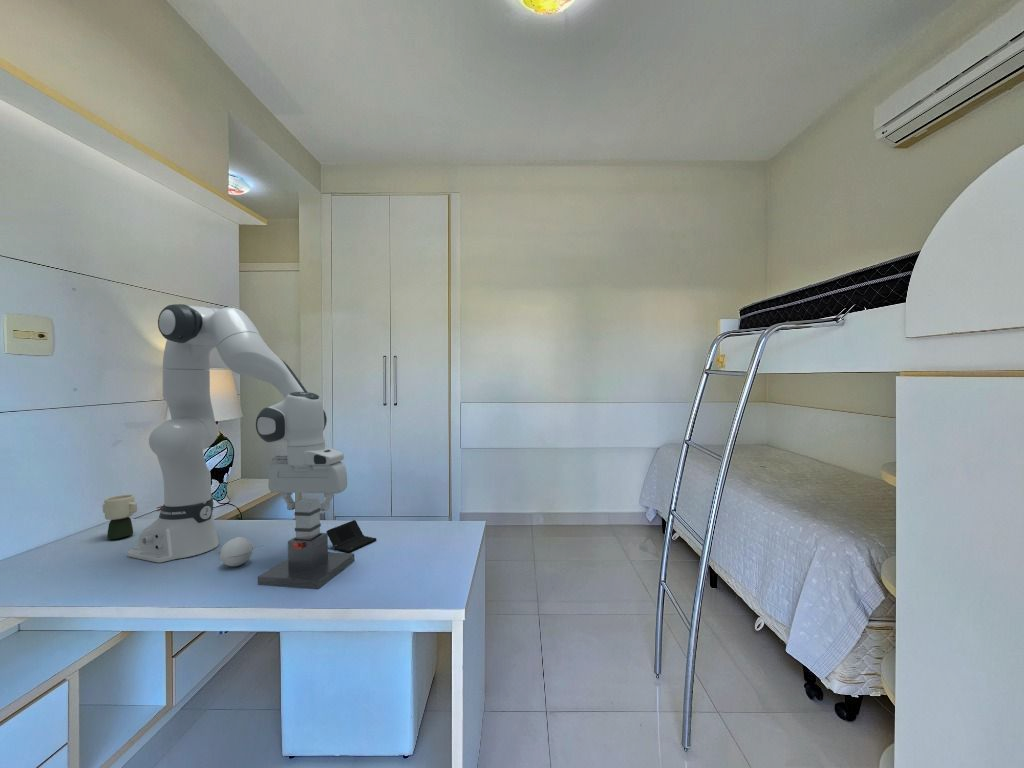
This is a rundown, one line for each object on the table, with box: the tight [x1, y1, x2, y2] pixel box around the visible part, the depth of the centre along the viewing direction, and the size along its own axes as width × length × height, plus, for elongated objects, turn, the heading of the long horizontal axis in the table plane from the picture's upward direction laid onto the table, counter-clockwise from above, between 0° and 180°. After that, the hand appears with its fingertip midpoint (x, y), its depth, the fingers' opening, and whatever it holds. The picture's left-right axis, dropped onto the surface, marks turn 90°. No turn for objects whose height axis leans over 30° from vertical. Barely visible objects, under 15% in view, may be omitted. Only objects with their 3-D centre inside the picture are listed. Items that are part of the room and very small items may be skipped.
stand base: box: [257, 532, 355, 590], centre depth 111 cm, size 16×16×9 cm
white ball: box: [219, 536, 265, 568], centre depth 116 cm, size 10×7×7 cm
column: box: [293, 498, 322, 541], centre depth 111 cm, size 4×4×16 cm
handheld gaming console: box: [325, 519, 377, 553], centre depth 129 cm, size 12×7×10 cm
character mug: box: [102, 493, 138, 540], centre depth 139 cm, size 11×7×13 cm, turn 88°
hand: (308, 509), depth 111 cm, fingers open, 8 cm apart
